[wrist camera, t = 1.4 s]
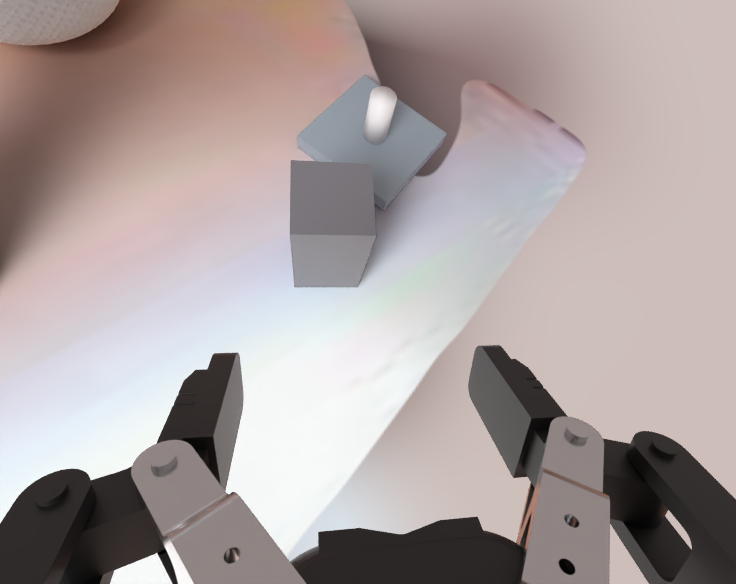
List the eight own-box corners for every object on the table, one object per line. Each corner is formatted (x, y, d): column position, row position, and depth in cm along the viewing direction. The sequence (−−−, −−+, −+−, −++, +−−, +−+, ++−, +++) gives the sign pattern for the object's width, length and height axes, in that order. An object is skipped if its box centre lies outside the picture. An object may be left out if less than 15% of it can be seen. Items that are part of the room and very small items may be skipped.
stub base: (297, 147, 37) (296, 96, 31) (362, 87, 40) (371, 32, 35) (383, 210, 36) (397, 170, 30) (442, 144, 39) (464, 97, 34)
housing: (294, 287, 32) (290, 234, 24) (294, 229, 34) (290, 160, 25) (357, 287, 33) (376, 235, 24) (355, 231, 35) (371, 164, 26)
